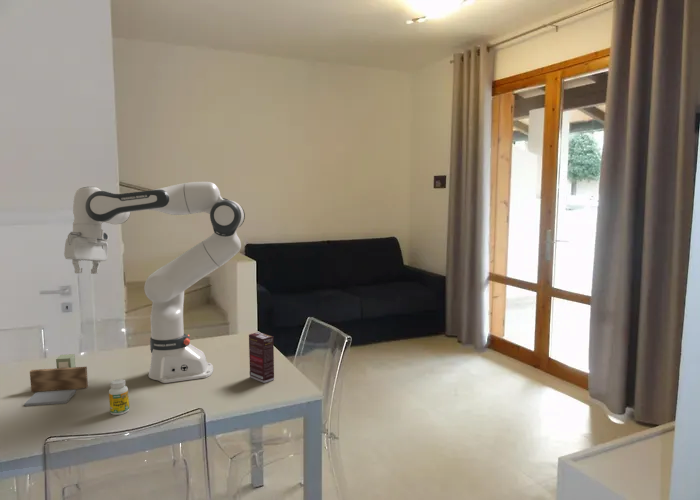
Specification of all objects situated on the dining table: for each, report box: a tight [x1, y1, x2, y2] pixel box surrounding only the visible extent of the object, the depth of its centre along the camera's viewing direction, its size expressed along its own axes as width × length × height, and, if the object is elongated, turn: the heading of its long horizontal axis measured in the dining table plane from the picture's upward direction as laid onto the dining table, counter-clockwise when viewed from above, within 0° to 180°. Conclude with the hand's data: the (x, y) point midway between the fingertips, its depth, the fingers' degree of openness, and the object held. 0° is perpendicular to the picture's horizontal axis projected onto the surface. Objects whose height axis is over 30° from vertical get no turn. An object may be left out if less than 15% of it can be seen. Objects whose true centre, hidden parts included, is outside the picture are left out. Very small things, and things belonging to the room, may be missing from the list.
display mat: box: [23, 389, 77, 407], centre depth 165 cm, size 12×9×1 cm
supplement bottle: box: [108, 378, 130, 416], centre depth 155 cm, size 5×5×10 cm
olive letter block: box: [55, 353, 77, 368], centre depth 179 cm, size 4×5×9 cm
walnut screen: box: [29, 366, 89, 393], centre depth 172 cm, size 17×2×7 cm, turn 101°
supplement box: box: [248, 331, 275, 384], centre depth 181 cm, size 9×5×16 cm, turn 47°
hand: (86, 273), depth 177 cm, fingers open, 8 cm apart
